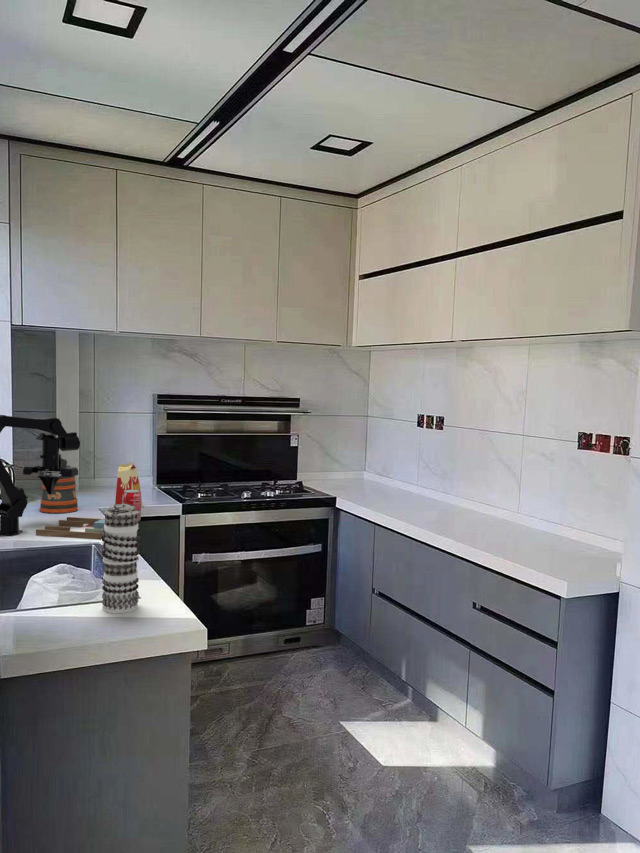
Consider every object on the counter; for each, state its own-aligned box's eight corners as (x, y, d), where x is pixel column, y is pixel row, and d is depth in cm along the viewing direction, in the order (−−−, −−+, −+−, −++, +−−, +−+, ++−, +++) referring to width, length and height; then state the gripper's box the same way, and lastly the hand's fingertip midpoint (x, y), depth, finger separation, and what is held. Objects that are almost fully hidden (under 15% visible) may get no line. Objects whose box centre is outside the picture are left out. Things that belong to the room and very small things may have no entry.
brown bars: (107, 539, 235) (107, 531, 234) (35, 535, 238) (35, 526, 237) (133, 526, 257) (133, 518, 257) (67, 522, 260) (67, 514, 260)
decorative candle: (111, 599, 172) (112, 501, 171) (146, 603, 171) (147, 503, 169) (93, 611, 163) (94, 507, 162) (129, 615, 162) (130, 510, 160)
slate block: (109, 534, 243) (109, 523, 243) (93, 533, 244) (93, 522, 244) (116, 531, 249) (116, 520, 249) (101, 530, 250) (101, 519, 250)
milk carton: (142, 507, 295) (143, 460, 293) (131, 511, 286) (131, 463, 285) (123, 505, 297) (124, 459, 296) (111, 509, 288) (112, 461, 287)
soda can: (121, 520, 267) (121, 489, 267) (139, 519, 270) (140, 489, 269) (122, 523, 261) (123, 492, 260) (141, 523, 263) (142, 491, 262)
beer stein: (44, 505, 292) (44, 458, 291) (80, 505, 295) (81, 458, 294) (37, 514, 274) (37, 464, 272) (76, 513, 277) (76, 464, 276)
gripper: (85, 450, 256) (84, 492, 257) (38, 448, 259) (37, 489, 260) (70, 453, 245) (70, 497, 246) (21, 451, 248) (21, 494, 249)
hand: (50, 494), depth 251 cm, fingers closed
